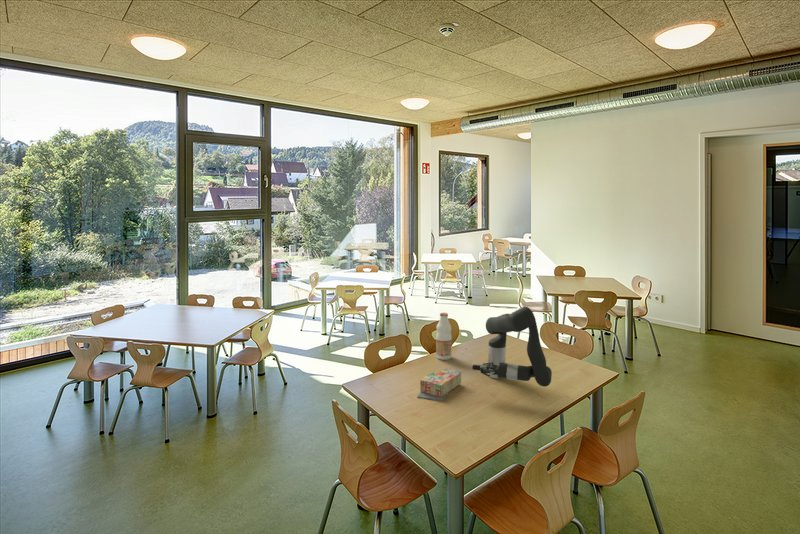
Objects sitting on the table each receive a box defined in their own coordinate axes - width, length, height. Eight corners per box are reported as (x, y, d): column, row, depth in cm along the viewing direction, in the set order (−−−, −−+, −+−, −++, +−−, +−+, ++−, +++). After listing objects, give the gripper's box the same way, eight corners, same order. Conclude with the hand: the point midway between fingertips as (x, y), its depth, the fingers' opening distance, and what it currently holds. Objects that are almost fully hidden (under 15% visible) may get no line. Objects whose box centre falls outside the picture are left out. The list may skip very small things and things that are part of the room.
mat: (454, 382, 246) (454, 381, 245) (443, 401, 223) (443, 400, 223) (430, 379, 250) (430, 378, 250) (417, 397, 227) (417, 396, 227)
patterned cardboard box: (461, 383, 243) (441, 378, 251) (461, 372, 242) (441, 367, 250) (440, 397, 226) (419, 391, 233) (440, 385, 225) (419, 379, 233)
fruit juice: (433, 358, 283) (434, 314, 279) (439, 354, 291) (439, 311, 287) (448, 361, 279) (448, 316, 275) (453, 356, 287) (453, 312, 283)
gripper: (509, 359, 229) (475, 355, 234) (506, 369, 216) (470, 364, 222) (509, 373, 230) (474, 369, 236) (506, 384, 218) (470, 379, 223)
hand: (472, 367), depth 229 cm, fingers closed
